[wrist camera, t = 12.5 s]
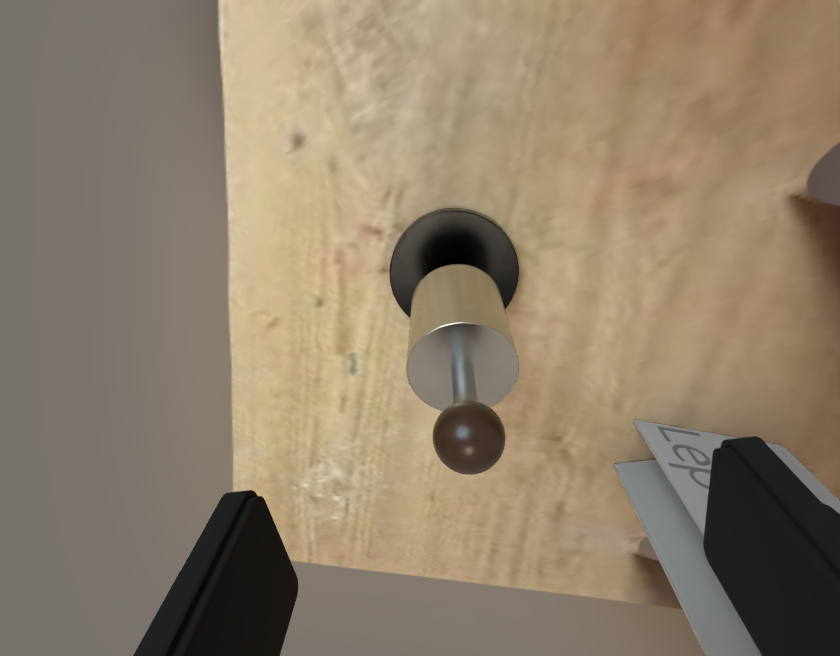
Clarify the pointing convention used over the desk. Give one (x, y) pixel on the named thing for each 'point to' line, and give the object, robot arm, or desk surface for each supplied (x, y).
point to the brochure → (693, 526)
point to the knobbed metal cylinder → (462, 363)
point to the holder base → (452, 252)
